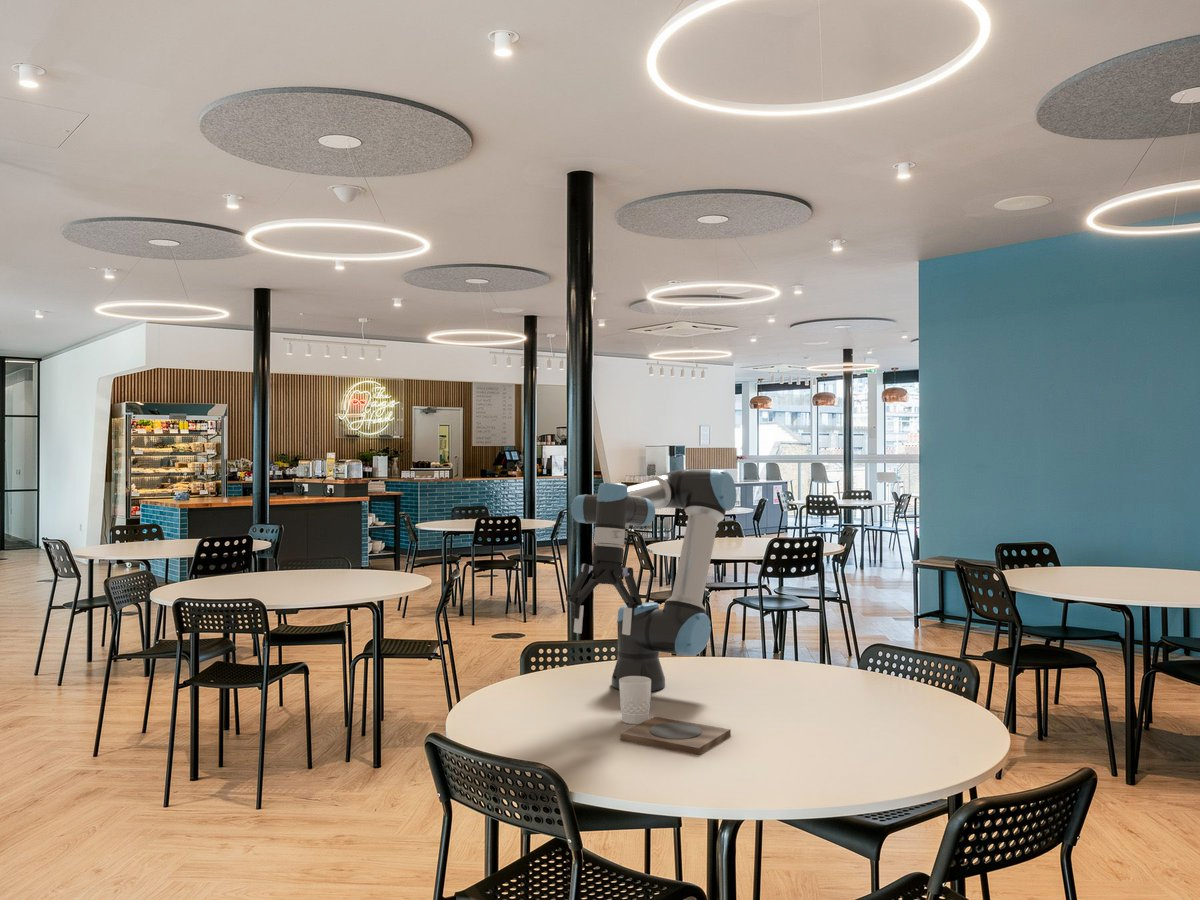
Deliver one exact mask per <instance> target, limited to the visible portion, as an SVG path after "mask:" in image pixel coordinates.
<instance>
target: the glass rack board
mask: <svg viewBox="0 0 1200 900" xmlns="http://www.w3.org/2000/svg"><path fill="white" fill-rule="evenodd" d="M731 734H732V733H731V728H730V729H729V728H723V727H718V726H714V725H713V726H711V725H707V724H699V723H695V722H688V721H684V720H677V719H674V718H673V719H672V718H665V717H662V716H661V717H660V716H653V717H651V718H649V720H647V721H645V722H643V723H640V724H635V725H634V726H632V727H631V728H628V729H626V730H624V731H622V732H620V739H619V740H620V741H624V742H625V741H626V742H629V743H634V744H639V745H646V746H651V747H654V748H655V747H656V748H661V749H666V750H672V751H675V752H676V751H677V752H680V753H686V754H692V755H697V756H699V755H701V754H703V753H705V752H707V751H708V750H710V749H711V748H714V747H715V746H716V745H718V744H719V743H721V742H723V741H725V740H726V739H729V738H730V737H731Z"/></svg>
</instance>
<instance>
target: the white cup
mask: <svg viewBox="0 0 1200 900" xmlns="http://www.w3.org/2000/svg"><path fill="white" fill-rule="evenodd" d="M619 688H620V690H619V703H620V712H621V714H620V715H621V722H623V723H624V724H629V725H638V724H640V723H643V722H645V721H647V720H649V719H650V710H651V698H652V694H651V693H652V691H651V679H650V678H648V677H643V676H627V677H622V678H620V679H619Z"/></svg>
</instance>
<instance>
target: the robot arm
mask: <svg viewBox="0 0 1200 900" xmlns="http://www.w3.org/2000/svg"><path fill="white" fill-rule="evenodd" d="M736 503H737V488H736V483H735V481H734V478H733V477H732V474H730V473H729V472H728V471H727V470H723V469H715V468H712V469H677V470H674V471H669V472H665V473H661V474H659V475H658V474H657V475H654V476H651V477H649V478H648V479H646V481H645V482H641V483H640V482H639V483H637V484H633V485H629V486H627V484H624V483H618V482H617V483H616V482H602V483H600V484H599V485H598V489H597V493H595V494H586V493H585V494H578V495H577V496H575V497H574V499H573V500H572V503H571V505H570V506H571V507H570V509H571V517H572V518H573V520H574V521H576V522H577V523H581V524H585V525H586V524H587V525H588V524H595V525H594V533H593V534H594V535H593V544H595V545H594V546H593V548H592V564H591V565H590V564H588V563H581V564H580V567H579V573H578V574H577V576H576V578H575V580H574V582H573V583H572V585H571V587H570V590H569V591H568V593H567V594H566V597H565V601H566V602H568V603H570V604H572V611H571V618H572V619H574V622H573V633H575V634H582V632H583V619H584V607H585V606H584V605H582V603H584V601H585V600H586V599H587V598H588V596H589V595H590V594H591V593H592V591H594V589H595V588H596V586H598V585H599V584H600V585H611V586H613V587H614V588H615V589H616V590H617V592H618V594H619V595H620V597H621V599H622V601H623V602H624V604H625V605H622V606H621V607H619V609H618V610H617V621H616V623H617V659H616V663H615V666H614V669H613V672H612V675H611V686H612V688H614V689H616V690H619V691H620V688H619V679H620V678H622V677H627V676H643V677H648V678H650V679H651V692H654V691H659V690H662V689H663V688H665V686H666V676H665V674H664V671H663V667H662V663H661V661H660V656H659V653H665V654H666V653H667V654H673V655H678V656H681V657H682V656H683V657H684V656H694V657H695V656H698V655H700V653H701V652H702V651H704V649H705V648H706V647H707V644H708V643H709V641H710V637H711V632H712V627H711V625H712V624H711V623H712V622H711V619H710V618H709V616H708V615H707V614H706V613H707V612H706V611H707V609H706V607H705V606H704V603H703V600H704V594H705V589H706V584H707V579H708V574H709V570H710V564H711V559H712V555H713V550H714V544H715V538H716V534H717V531H718V530H717V529H718V524H719V523H720V522H721V521H723V520H724V519H725V516H726V512H729V511H732V510H734V507H735V506H736ZM664 508H669V509H671V508H672V509H683V510H684V512H685V514H686V515H687V522H686V527H685V531H684V532H685V533H684V537H683V541H682V545H681V551H680V556H679V560H678V565H677V568H676V574H675V578H674V579H675V580H674V584H673V590H672V593H671V596H670V597H669V598H668V599H666V600H665V601H664V604H663V609H660V605H659V603H658V602H655V601H654V602H652V601H651V602H643V600H642V598H641V595H640V592H639V590H638V586H637V583H636V580H635V578H634V568H633V567H628V566H625V567H623V562H624V554H625V553H624V551H625V550H624V548H623V547H622V546H624V545H625V535H626V526H634V527H647V526H648V525H650V524H651V523H652V522H653V521H654V519H655V516H656V510H657V509H658V510H661V509H664ZM590 573H591V574H592V575H591V576H590V578H589V579H588V581H587V582H586V580H587V578H588V576H589V574H590ZM621 576H623V577H624V581H625V584H626V586H627V588H626V586H625V585H624V581H623V580H622V578H621ZM585 582H586V584H585ZM584 584H585V585H584ZM583 585H584V586H583Z"/></svg>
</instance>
